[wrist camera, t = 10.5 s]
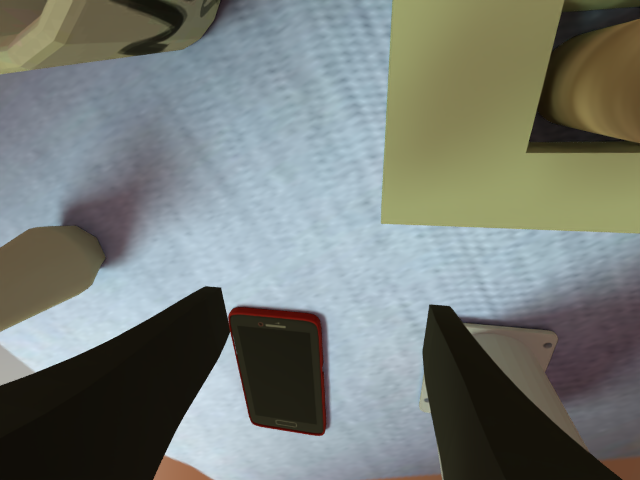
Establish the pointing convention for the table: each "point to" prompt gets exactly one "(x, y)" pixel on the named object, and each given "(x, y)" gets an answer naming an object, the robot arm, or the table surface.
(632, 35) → the tall peg
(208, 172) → the table surface
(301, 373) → the cell phone
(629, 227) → the hole board
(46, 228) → the salt shaker
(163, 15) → the mug
